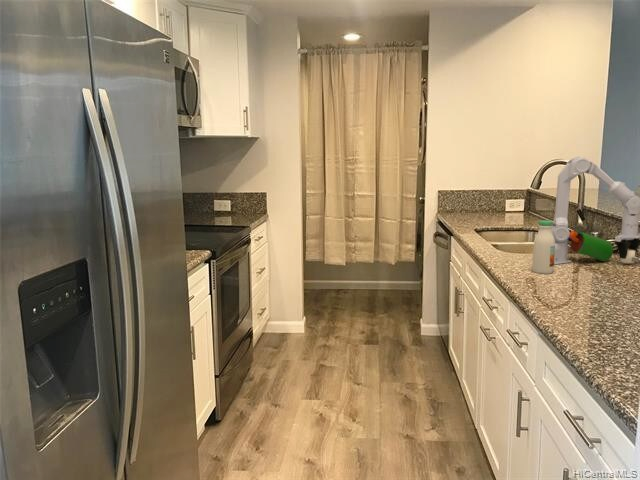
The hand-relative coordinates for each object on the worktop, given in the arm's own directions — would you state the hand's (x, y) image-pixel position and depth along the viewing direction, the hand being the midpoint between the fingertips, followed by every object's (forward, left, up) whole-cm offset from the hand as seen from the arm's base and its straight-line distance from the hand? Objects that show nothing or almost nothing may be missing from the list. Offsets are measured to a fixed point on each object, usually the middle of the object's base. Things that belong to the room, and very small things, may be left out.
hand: (627, 257), depth 219 cm
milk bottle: (-40, +7, -3) cm, 41 cm away
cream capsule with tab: (0, 0, -2) cm, 2 cm away
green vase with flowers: (-1, +10, +1) cm, 10 cm away
